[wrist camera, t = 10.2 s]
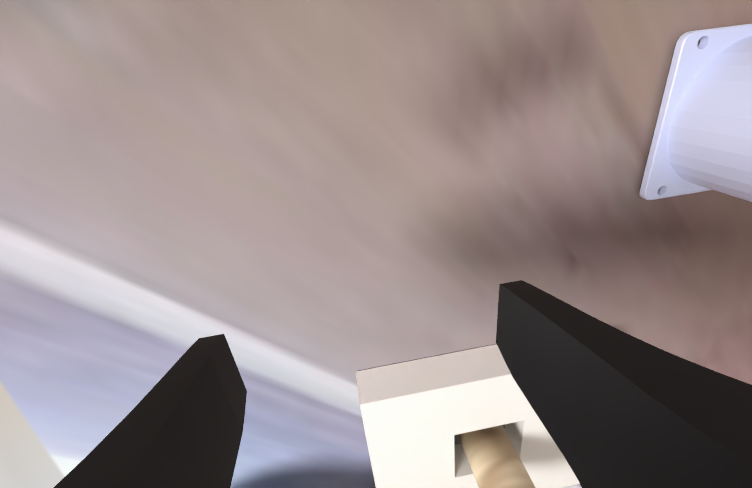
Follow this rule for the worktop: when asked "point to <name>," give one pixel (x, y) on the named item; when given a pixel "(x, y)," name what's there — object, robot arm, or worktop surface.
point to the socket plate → (450, 421)
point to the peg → (494, 459)
